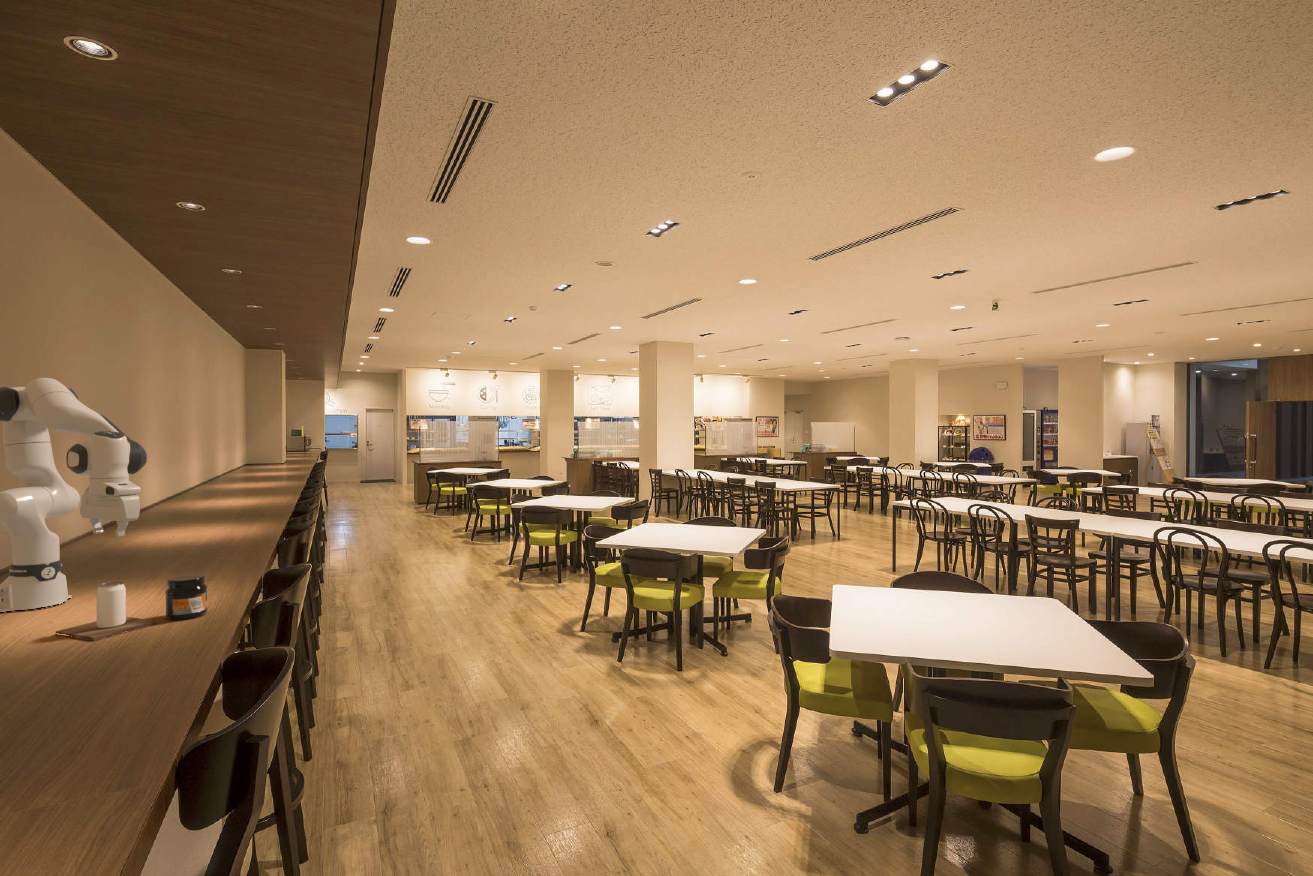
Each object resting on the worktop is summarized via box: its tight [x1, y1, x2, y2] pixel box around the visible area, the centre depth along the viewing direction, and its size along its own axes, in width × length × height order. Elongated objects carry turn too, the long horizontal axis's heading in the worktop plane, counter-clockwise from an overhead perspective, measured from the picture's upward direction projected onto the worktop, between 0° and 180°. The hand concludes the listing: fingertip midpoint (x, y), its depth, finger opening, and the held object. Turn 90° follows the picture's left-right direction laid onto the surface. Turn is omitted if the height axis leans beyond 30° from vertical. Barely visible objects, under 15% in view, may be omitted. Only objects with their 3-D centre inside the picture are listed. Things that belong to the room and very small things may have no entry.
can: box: [96, 581, 127, 628], centre depth 184 cm, size 6×6×12 cm
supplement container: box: [164, 573, 208, 621], centre depth 198 cm, size 10×10×12 cm
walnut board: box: [55, 616, 157, 642], centre depth 184 cm, size 16×16×1 cm
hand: (109, 534), depth 185 cm, fingers open, 8 cm apart
